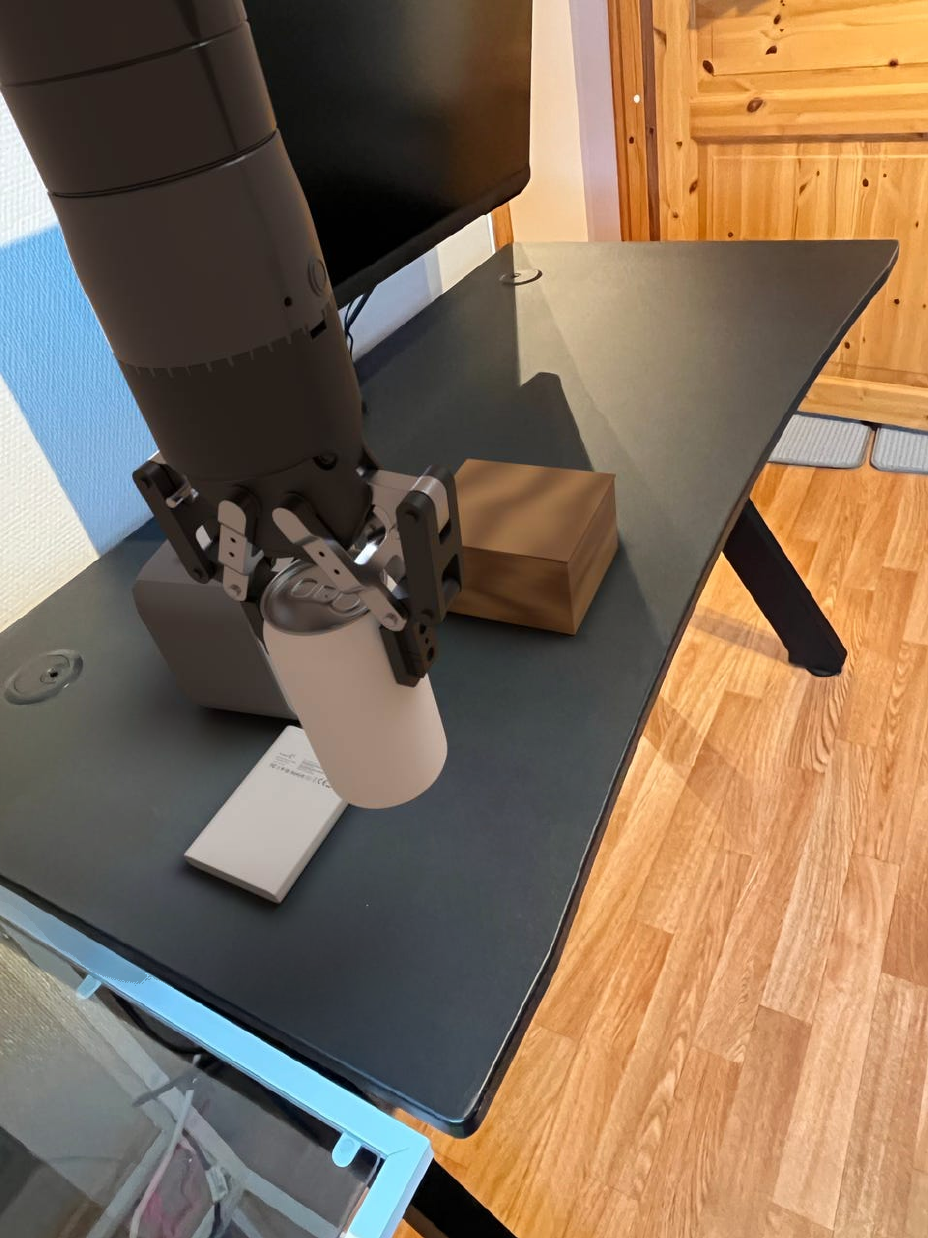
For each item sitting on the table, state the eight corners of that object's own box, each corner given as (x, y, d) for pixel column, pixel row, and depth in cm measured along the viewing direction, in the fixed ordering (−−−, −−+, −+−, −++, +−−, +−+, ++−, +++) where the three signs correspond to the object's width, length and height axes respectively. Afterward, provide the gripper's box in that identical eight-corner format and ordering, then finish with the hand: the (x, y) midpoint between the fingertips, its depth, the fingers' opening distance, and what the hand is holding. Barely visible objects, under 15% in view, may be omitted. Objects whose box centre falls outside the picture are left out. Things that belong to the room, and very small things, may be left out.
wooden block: (619, 547, 77) (615, 473, 72) (575, 636, 70) (568, 561, 64) (480, 528, 83) (467, 458, 78) (425, 608, 76) (407, 537, 70)
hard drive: (190, 866, 59) (292, 736, 67) (281, 906, 56) (378, 764, 63) (181, 853, 58) (286, 722, 66) (273, 894, 55) (373, 750, 62)
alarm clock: (298, 735, 67) (230, 586, 56) (180, 717, 70) (95, 574, 60) (374, 599, 78) (329, 453, 67) (269, 590, 81) (210, 451, 71)
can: (407, 832, 41) (339, 657, 33) (304, 789, 44) (219, 620, 36) (471, 734, 44) (425, 556, 36) (372, 701, 47) (310, 531, 39)
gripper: (-12, 351, 28) (182, 686, 39) (345, 367, 23) (455, 756, 34) (133, 263, 33) (270, 584, 44) (459, 258, 27) (524, 630, 38)
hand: (350, 657), depth 39 cm, fingers closed on can, 6 cm apart
